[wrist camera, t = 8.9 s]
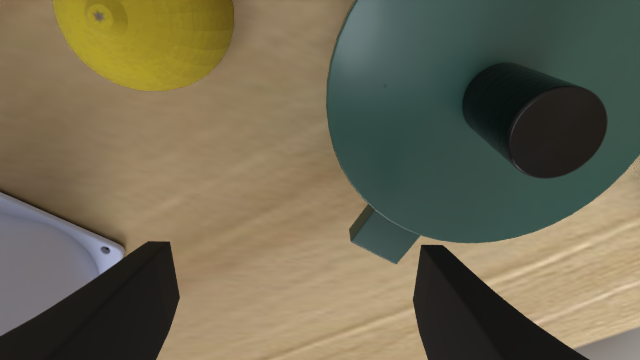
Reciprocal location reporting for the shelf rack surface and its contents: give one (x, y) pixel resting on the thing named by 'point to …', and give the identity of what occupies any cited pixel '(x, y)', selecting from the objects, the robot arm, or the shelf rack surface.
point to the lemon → (148, 38)
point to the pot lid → (484, 110)
